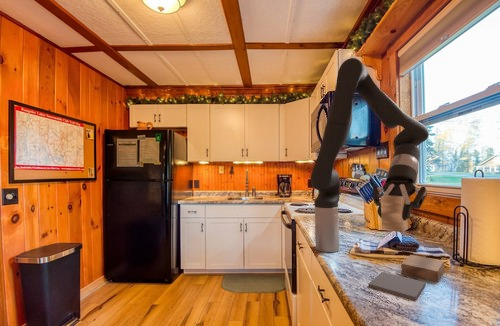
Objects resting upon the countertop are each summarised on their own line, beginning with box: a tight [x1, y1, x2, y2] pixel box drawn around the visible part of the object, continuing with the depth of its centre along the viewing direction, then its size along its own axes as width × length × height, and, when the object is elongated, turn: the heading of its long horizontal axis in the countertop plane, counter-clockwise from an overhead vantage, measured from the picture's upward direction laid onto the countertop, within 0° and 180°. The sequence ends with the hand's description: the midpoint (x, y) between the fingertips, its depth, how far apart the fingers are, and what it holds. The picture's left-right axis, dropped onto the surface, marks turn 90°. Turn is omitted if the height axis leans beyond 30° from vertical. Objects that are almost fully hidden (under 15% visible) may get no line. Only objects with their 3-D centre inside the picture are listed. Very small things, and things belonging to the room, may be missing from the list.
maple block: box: [380, 195, 409, 233], centre depth 70 cm, size 5×5×9 cm
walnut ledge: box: [400, 254, 445, 283], centre depth 78 cm, size 9×11×3 cm
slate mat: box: [368, 271, 427, 301], centre depth 69 cm, size 11×11×1 cm
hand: (392, 217), depth 68 cm, fingers closed on maple block, 5 cm apart
